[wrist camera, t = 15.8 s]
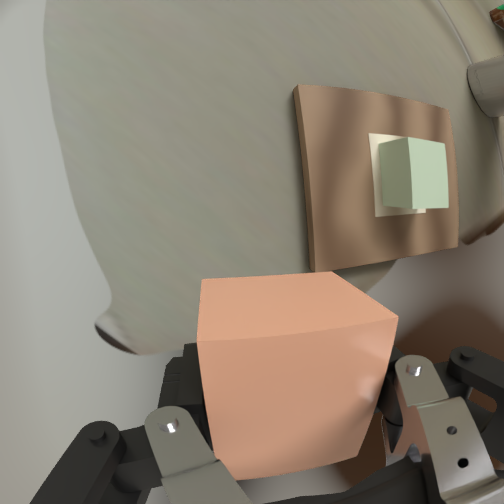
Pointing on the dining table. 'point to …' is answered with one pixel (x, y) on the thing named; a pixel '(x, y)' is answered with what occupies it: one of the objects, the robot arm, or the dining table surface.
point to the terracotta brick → (290, 369)
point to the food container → (498, 16)
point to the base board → (366, 177)
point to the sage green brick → (414, 173)
